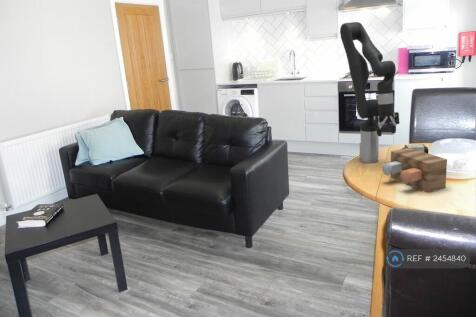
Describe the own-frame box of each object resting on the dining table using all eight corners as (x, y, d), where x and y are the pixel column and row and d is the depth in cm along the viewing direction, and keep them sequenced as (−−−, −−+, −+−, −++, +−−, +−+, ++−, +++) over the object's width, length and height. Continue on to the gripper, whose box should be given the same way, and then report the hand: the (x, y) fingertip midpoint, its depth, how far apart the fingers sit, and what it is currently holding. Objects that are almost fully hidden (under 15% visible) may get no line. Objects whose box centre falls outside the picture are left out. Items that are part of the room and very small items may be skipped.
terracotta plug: (400, 180, 177) (400, 168, 175) (420, 175, 180) (421, 164, 178) (409, 184, 172) (410, 172, 170) (430, 179, 175) (430, 167, 173)
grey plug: (382, 173, 188) (382, 161, 186) (401, 168, 191) (401, 157, 189) (390, 176, 183) (390, 164, 181) (410, 172, 186) (410, 160, 184)
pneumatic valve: (427, 167, 202) (428, 144, 198) (403, 168, 204) (403, 145, 200) (425, 163, 207) (425, 141, 203) (400, 164, 209) (401, 142, 206)
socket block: (390, 177, 193) (391, 151, 190) (407, 173, 196) (408, 147, 193) (427, 192, 173) (428, 163, 169) (445, 187, 176) (447, 159, 172)
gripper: (392, 100, 205) (393, 131, 209) (368, 104, 201) (369, 136, 204) (402, 100, 198) (403, 133, 202) (378, 104, 194) (379, 137, 197)
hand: (386, 134), depth 203 cm, fingers open, 8 cm apart
